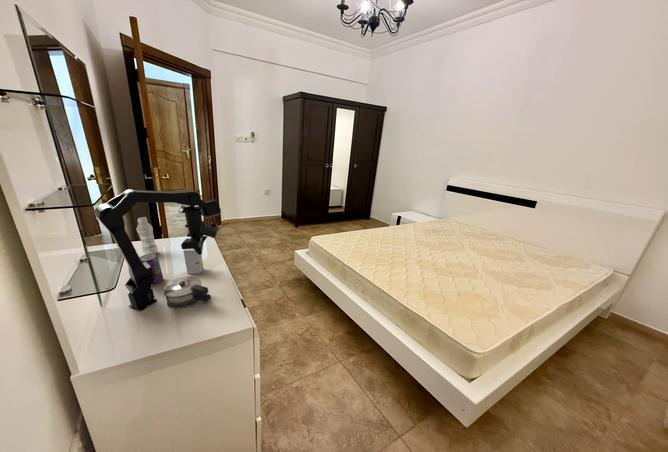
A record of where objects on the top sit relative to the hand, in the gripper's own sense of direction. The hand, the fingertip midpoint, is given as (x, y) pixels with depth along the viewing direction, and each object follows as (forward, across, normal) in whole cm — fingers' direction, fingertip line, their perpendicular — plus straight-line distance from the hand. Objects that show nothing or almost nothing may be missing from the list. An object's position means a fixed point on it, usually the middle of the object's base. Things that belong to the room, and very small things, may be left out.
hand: (200, 254), depth 109 cm
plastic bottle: (+12, +26, +33) cm, 44 cm away
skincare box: (+12, +7, +6) cm, 15 cm away
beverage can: (+12, 0, +21) cm, 24 cm away
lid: (+7, -15, +1) cm, 17 cm away
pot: (+12, -16, +1) cm, 20 cm away
